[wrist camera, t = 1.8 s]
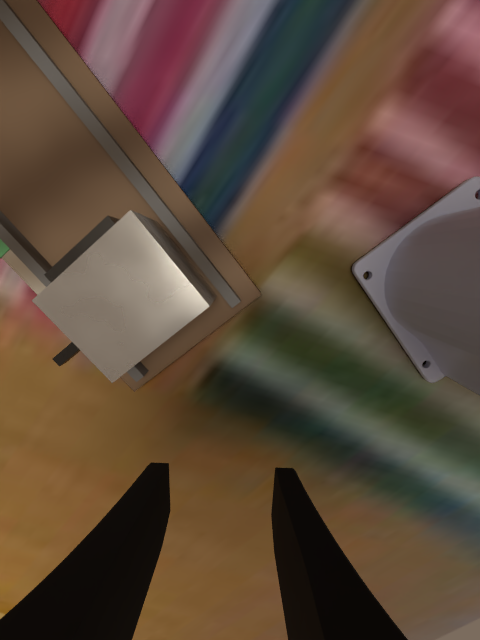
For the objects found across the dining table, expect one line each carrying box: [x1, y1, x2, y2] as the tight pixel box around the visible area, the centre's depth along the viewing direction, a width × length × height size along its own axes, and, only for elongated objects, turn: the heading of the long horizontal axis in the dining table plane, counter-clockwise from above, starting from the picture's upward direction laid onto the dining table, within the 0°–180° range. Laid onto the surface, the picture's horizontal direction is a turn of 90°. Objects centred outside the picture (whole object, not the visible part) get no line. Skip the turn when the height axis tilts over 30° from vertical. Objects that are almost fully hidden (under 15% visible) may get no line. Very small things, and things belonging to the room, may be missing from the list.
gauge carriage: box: [32, 210, 217, 383], centre depth 13 cm, size 6×8×3 cm
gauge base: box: [0, 0, 261, 392], centre depth 12 cm, size 22×10×6 cm, turn 38°
